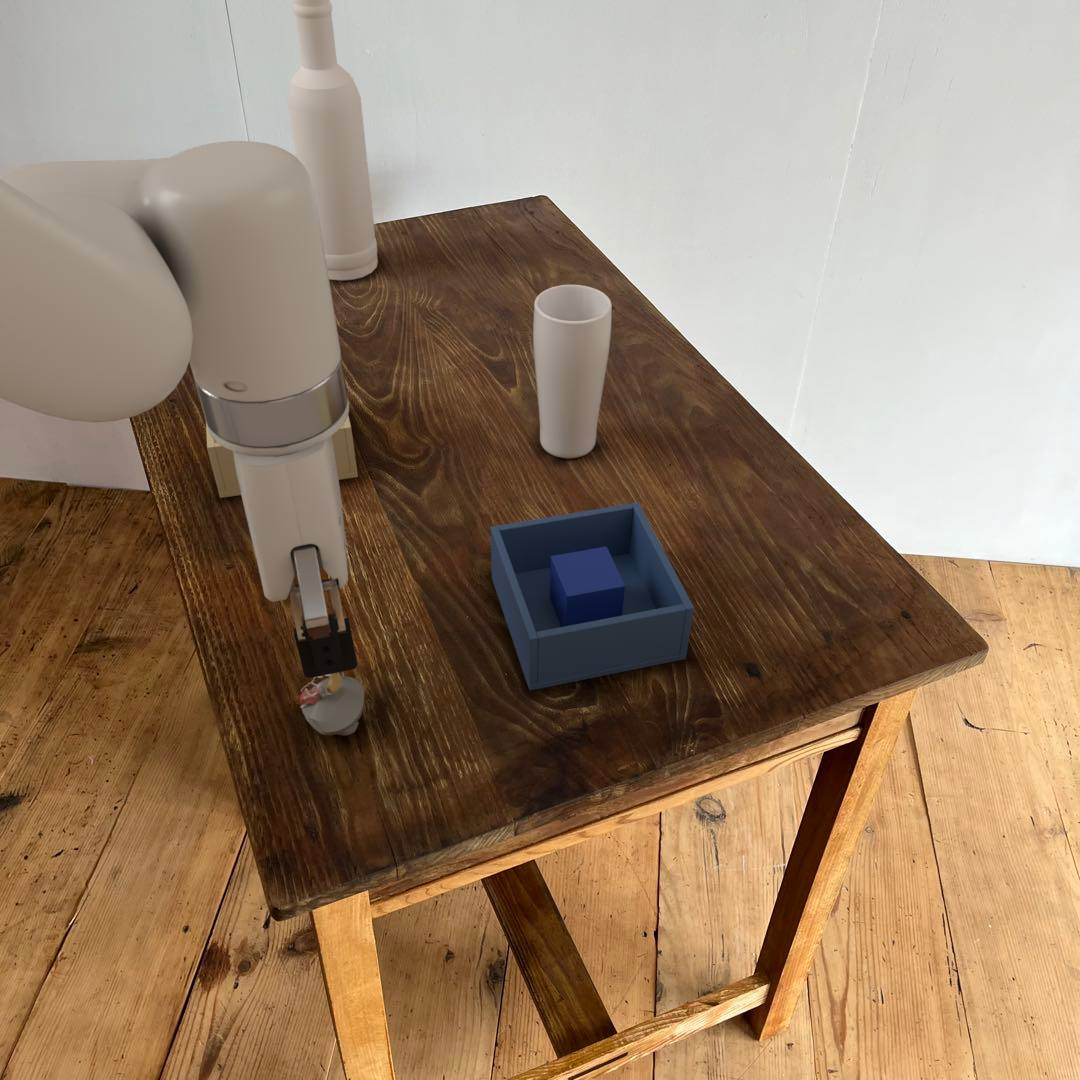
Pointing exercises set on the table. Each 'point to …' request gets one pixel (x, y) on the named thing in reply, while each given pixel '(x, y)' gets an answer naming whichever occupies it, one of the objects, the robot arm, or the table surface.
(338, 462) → the cream bin
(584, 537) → the blue bin
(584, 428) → the drinking glass
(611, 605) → the blue block
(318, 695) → the figurine
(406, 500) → the table surface
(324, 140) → the bottle
